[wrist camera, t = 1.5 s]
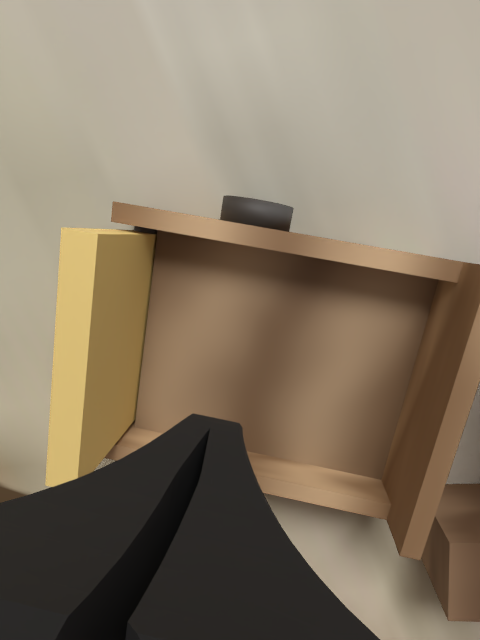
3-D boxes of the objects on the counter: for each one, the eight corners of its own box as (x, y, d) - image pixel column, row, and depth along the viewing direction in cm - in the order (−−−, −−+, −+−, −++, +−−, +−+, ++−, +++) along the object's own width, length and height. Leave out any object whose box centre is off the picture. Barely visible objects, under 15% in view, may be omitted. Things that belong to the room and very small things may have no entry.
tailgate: (161, 230, 18) (98, 227, 12) (139, 416, 21) (75, 497, 14) (137, 226, 18) (61, 221, 12) (117, 412, 21) (45, 490, 14)
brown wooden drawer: (458, 238, 17) (526, 239, 13) (382, 498, 20) (413, 580, 16) (141, 185, 18) (91, 166, 14) (114, 440, 21) (65, 500, 17)
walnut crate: (500, 482, 20) (553, 543, 16) (496, 549, 21) (546, 623, 17) (417, 483, 20) (449, 542, 16) (417, 549, 21) (448, 620, 17)
